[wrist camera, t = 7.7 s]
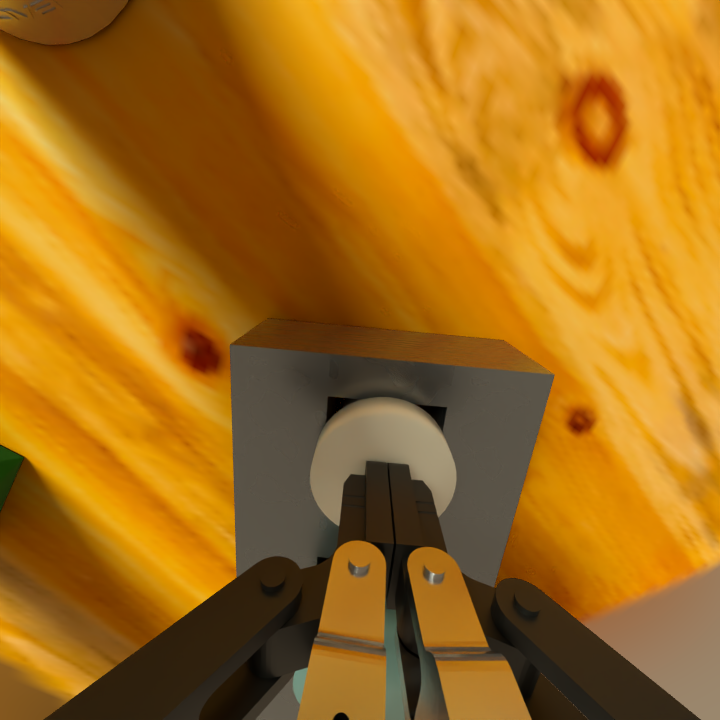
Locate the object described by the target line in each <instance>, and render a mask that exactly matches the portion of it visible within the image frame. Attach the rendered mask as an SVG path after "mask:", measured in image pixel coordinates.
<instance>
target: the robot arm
mask: <svg viewBox="0 0 720 720" xmlns="http://www.w3.org/2000/svg"><path fill="white" fill-rule="evenodd" d="M127 2H128V0H0V30H3V31H5V32H7V33H9V34H11V35H13V36H15V37H17V38H20V39H22V40H27V41H31V42H36V43H40V44H45V45H53V44H71V43H74V42H77V41H80V40H83V39H86V38H89V37H92V36H93V35H94V34H96V33H97V32H99V31H100V30H102V29H103V28H105V27H106V26H108V25H109V24H110V23H111V22H112V21H113V20H114V19H115V17H116V16H117V15H118V14H119V13H120V12H121V10H122V9H123V8H124V7H125V6H126V4H127ZM385 598H386V609H393V610H396V620H397V625H396V631H395V638H394V639H395V649H396V656H397V664H398V671H399V678H400V686H401V693H402V701H403V708H404V715H405V720H701V719H699V718H698V717H697V716H696V715H694V714H693V713H692V712H691V711H689V710H688V709H687V708H686V707H684V706H683V705H682V704H681V703H680V702H678V701H677V700H676V699H675V698H673V697H672V696H671V695H670V694H668V693H667V692H666V691H665V690H663V689H662V688H661V687H660V686H658V685H657V684H656V683H655V682H654V681H652V680H651V679H650V678H649V677H647V676H646V675H645V674H644V673H642V672H641V671H640V670H639V669H637V668H636V667H635V666H634V665H632V664H631V663H630V662H629V661H628V660H626V659H625V658H624V657H623V656H621V655H620V654H619V653H618V652H616V651H615V650H614V649H613V648H611V647H610V646H609V645H608V644H606V643H605V642H604V641H603V640H602V639H600V638H599V637H598V636H597V635H595V634H594V633H593V632H592V631H591V630H589V629H588V628H587V627H585V626H584V625H583V624H582V623H581V622H579V621H578V620H577V619H576V618H574V617H573V616H572V615H571V614H569V613H568V612H567V611H566V610H565V609H563V608H562V607H561V606H560V605H558V604H557V603H556V602H555V601H553V600H552V599H551V598H550V597H548V596H547V595H546V594H545V593H544V592H542V591H541V590H540V589H538V588H537V587H536V586H534V585H532V584H531V583H529V582H526V581H524V580H521V579H516V578H508V579H504V580H502V581H501V582H500V583H499V584H498V585H497V587H496V588H494V587H491V586H489V585H486V584H484V583H481V582H478V581H476V580H474V579H471V578H470V577H468V576H466V575H465V574H464V573H462V572H461V571H460V568H459V566H458V564H457V563H456V561H455V560H454V559H453V558H452V557H451V556H450V555H448V553H447V549H446V545H445V541H444V537H443V534H442V530H441V526H440V522H439V518H438V515H437V511H436V507H435V505H434V499H433V496H432V492H431V490H430V489H429V488H428V486H427V485H426V484H425V483H424V481H423V480H412V479H411V474H410V469H409V465H408V464H398V463H386V462H376V461H366V467H365V475H356V474H350V476H349V477H348V478H347V479H346V481H345V482H344V485H343V494H342V504H341V514H340V523H339V533H338V542H337V547H336V549H335V551H334V553H333V554H332V555H331V556H330V557H329V558H328V559H327V560H326V561H324V562H323V563H321V564H318V565H315V566H312V567H307V568H303V569H300V568H299V566H298V565H297V564H296V563H295V562H294V561H293V560H291V559H289V558H286V557H281V556H273V557H268V558H265V559H263V560H261V561H259V562H257V563H256V564H255V565H253V566H252V567H250V568H249V569H248V570H246V571H245V572H244V573H242V574H241V575H240V576H238V577H237V578H236V579H234V580H233V581H231V582H230V583H229V584H227V585H226V586H225V587H223V588H222V589H221V590H219V591H218V592H216V593H215V594H214V595H212V596H211V597H210V598H208V599H207V600H206V601H204V602H203V603H202V604H200V605H199V606H197V607H196V608H195V609H193V610H192V611H191V612H189V613H188V614H187V615H185V616H184V617H182V618H181V619H180V620H178V621H177V622H176V623H174V624H173V625H172V626H170V627H169V628H168V629H166V630H165V631H163V632H162V633H161V634H159V635H158V636H157V637H155V638H154V639H153V640H151V641H150V642H149V643H147V644H146V645H144V646H143V647H142V648H140V649H139V650H138V651H136V652H135V653H134V654H132V655H131V656H129V657H128V658H127V659H125V660H124V661H123V662H121V663H120V664H119V665H117V666H116V667H115V668H113V669H112V670H110V671H109V672H108V673H106V674H105V675H104V676H102V677H101V678H100V679H98V680H97V681H95V682H94V683H93V684H91V685H90V686H89V687H87V688H86V689H85V690H83V691H82V692H81V693H79V694H78V695H76V696H75V697H74V698H72V699H71V700H70V701H68V702H67V703H66V704H64V705H63V706H62V707H60V708H59V709H57V710H56V711H55V712H53V713H52V714H51V715H49V716H48V717H47V718H45V719H44V720H255V719H256V718H257V717H258V716H259V715H260V714H261V713H262V711H263V710H264V709H265V708H266V707H267V706H268V705H269V703H270V702H271V701H272V700H273V699H274V698H275V697H276V696H277V694H278V693H279V692H280V691H281V690H282V689H283V688H284V686H285V685H286V684H287V683H288V682H289V681H290V679H291V678H292V677H293V675H294V673H295V671H298V670H301V669H305V668H308V670H307V675H306V679H305V684H304V689H303V694H302V699H301V703H300V708H299V713H298V718H297V720H385V704H386V648H385V647H384V624H385ZM545 677H546V678H545ZM558 690H559V691H558ZM573 704H574V705H573Z"/></svg>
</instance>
